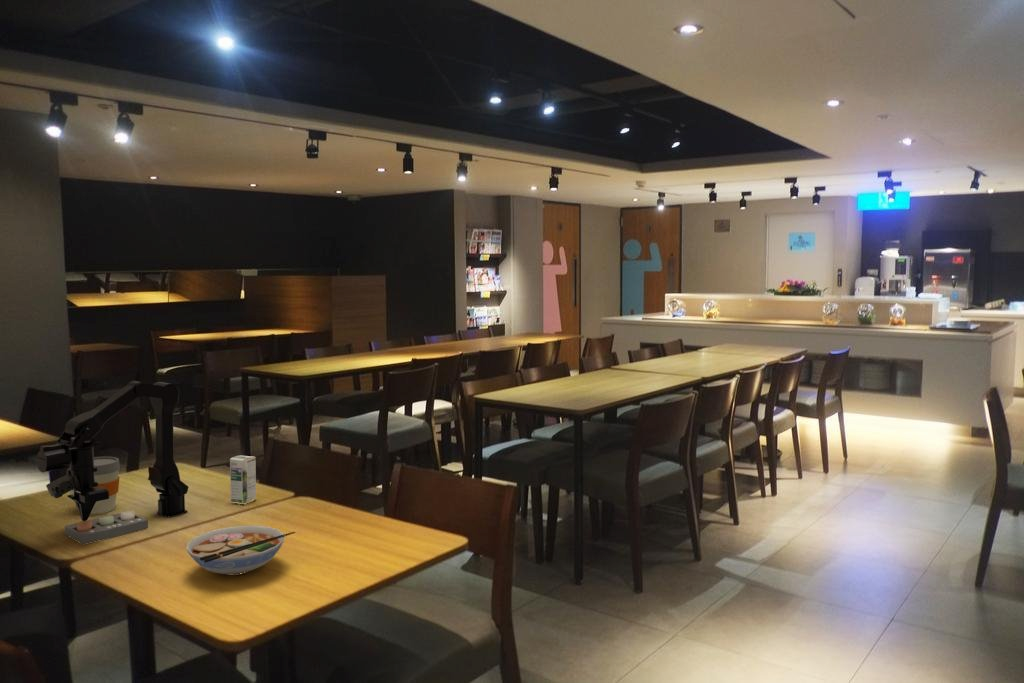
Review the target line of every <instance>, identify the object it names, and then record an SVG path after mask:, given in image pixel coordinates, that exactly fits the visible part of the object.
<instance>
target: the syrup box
mask: <svg viewBox="0 0 1024 683" xmlns="http://www.w3.org/2000/svg"><path fill="white" fill-rule="evenodd" d="M256 465H257V464H256V456H248V455H241V454H240V455H235V456H233V457H231V458H230V459H229V475H230V477H229V479H230V483H229V484H230V503H231V502H239V503H246V502H249V501H250V500H252V499H254V498H256V499H257V481H256V480H257V478H256V477H257V475H256V474H257V472H256V471H257V468H256Z"/></svg>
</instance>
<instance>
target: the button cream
mask: <svg viewBox="0 0 1024 683" xmlns="http://www.w3.org/2000/svg"><path fill="white" fill-rule="evenodd" d="M120 513H121V521H127V520H132V519H135V514H136V512H135V511H134V510H124V511H122V512H120Z"/></svg>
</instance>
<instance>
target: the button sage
mask: <svg viewBox="0 0 1024 683" xmlns="http://www.w3.org/2000/svg"><path fill="white" fill-rule="evenodd" d="M98 518H99V526H101V527H102V526H107V525H111V524H114V516H110V515H104V516H100V517H98Z"/></svg>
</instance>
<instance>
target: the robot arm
mask: <svg viewBox="0 0 1024 683" xmlns="http://www.w3.org/2000/svg"><path fill="white" fill-rule="evenodd" d="M141 396H142V397H147V398H148V397H149V402H150V404H151V408H152V409H153V411H154V414H155V462H154V464H153V465H152V466H148V478H147V480H148V481H149V482H150V483H149V484H150V485H151V486H152V487H153V488H155V491H156V492H157V494H158V493H159V497H158V500H157V512H156V513H157V514H158V515H160V516H163V517H165V518H171V517H174V516H179V515H183V514H187V513H189V512H188V510H187V509H186V504H185V503H186V502H185V501H186V500H185V499H186V497H185V495H187V493H188V491H189V485H187V484H186V483H185V482H183V481H182V480H181V475H180V471H179V468H178V465H177V464H176V461H175V458H174V457H175V456H174V452H175V450H174V448H175V447H174V444H175V442H174V441H175V440H174V412H175V410H176V408H177V405H178V403H179V398H180V397H179V396H180V389H179V387H178V386H176V384H173V383H168V382H163V381H157V382H154V383H152V384H151V383H145V382H142V381H138V380H137V381H136V380H131V381H130V382H128V383H127V384H126V385H125V386H124V387H123V388H121V389H120V390H119V391H117V392H116V393H114V394H113V395H112V396H109V398H108V399H106V400H105V401H103V402H102V403H101V404H99V405H97V407H95V408H93V409H91V410H89V411H87V412H83V413H81V414H79V415H76V416H75V417H73V418H70V419H69V420H68V421H67V422H66V423H65V427H64V430H63V432H62V433H61V434H60V436H59V438H58V440H56V443H55V444H51V445H41V446H39V451H38V452H37V457H36V458H35V460H36V465H37V469H38V470H39V471H40V472H41V473H43V474H44V473H47V472H53V471H56V470H57V471H59V470H63V469H67V470H66V471H65V473H66V474H65V475H63V476H61V477H59V478H57V479H54V480H53V481H51V482H49V483H48V484H46V489H47V491H48V493H49V495H50V496H51V497H54V498H55V499H59V498H61V497H63V495H65V494H67V493H69V494H68V495H66V498H69V499H70V500H72V501H73V502H74V503H75V506H76V508H77V511H78V513H79V516H80V519H81V521H88V520H89V518H90V515H91V514H90V513H91V511H92V509H93V507H94V505H95V503H96V502H97V501H101V500H106V499H109V491H108V490H106V489H104V488H102V487H96V486H98V482H95V474H94V472H97V468H96V467H94V457H95V454H94V448H95V447H101V446H102V443H101V442H99V441H98V440H97V438H95V437H96V435H98V433H100V432H101V430H102V428H103V427H104V425H105V424H106V423H107V421H109V420H111V419H112V418H113V417H114V416H116V415H117V414H119V413H120V412H121V411H122V410H123V409H125V408H127V406H130V404H131V403H133V402H135V401H136V400H137V399H139V398H140V397H141ZM71 439H72V440H71ZM68 466H69V467H68ZM93 487H96V488H93Z"/></svg>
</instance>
